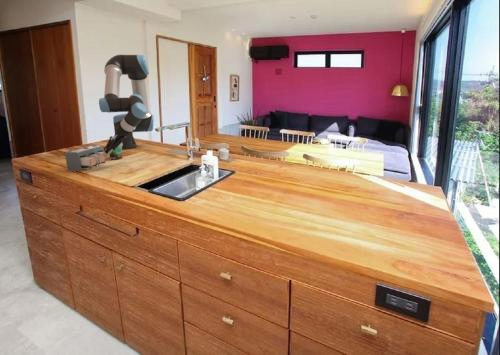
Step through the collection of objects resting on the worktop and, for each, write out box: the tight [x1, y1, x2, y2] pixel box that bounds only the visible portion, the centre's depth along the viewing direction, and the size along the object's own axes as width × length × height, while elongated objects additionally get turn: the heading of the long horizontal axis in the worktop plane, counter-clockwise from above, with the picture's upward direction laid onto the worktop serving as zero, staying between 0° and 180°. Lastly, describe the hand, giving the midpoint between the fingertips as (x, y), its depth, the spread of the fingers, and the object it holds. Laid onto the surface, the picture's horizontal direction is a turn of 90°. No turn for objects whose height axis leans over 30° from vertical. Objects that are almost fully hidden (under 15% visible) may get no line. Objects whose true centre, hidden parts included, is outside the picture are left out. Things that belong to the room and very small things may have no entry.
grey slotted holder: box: [64, 144, 106, 172], centre depth 182 cm, size 8×19×10 cm, turn 164°
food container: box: [109, 143, 123, 161], centre depth 200 cm, size 12×6×10 cm, turn 179°
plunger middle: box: [89, 154, 104, 164], centre depth 180 cm, size 8×4×4 cm, turn 74°
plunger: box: [80, 157, 96, 167], centre depth 174 cm, size 8×4×4 cm, turn 74°
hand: (104, 156), depth 186 cm, fingers closed
